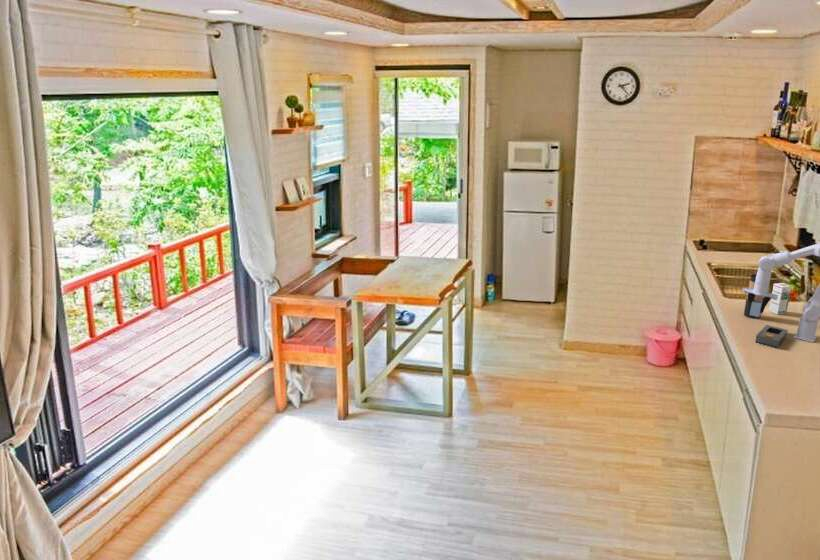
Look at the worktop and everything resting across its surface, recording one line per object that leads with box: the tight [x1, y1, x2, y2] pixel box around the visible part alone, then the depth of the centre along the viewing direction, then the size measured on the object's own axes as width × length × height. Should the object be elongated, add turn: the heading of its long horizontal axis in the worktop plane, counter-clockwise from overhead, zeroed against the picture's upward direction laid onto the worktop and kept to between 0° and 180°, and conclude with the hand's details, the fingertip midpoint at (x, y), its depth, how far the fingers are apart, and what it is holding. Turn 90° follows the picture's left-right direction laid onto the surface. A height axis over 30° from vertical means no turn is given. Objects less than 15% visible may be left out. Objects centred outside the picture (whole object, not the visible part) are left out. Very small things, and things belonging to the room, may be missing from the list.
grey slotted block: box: [754, 324, 789, 349], centre depth 321 cm, size 18×9×4 cm, turn 142°
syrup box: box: [768, 282, 792, 316], centre depth 358 cm, size 6×6×14 cm
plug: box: [749, 300, 763, 317], centre depth 332 cm, size 6×4×6 cm, turn 142°
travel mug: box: [743, 273, 765, 319], centre depth 349 cm, size 8×8×20 cm
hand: (756, 311), depth 332 cm, fingers closed on plug, 4 cm apart
